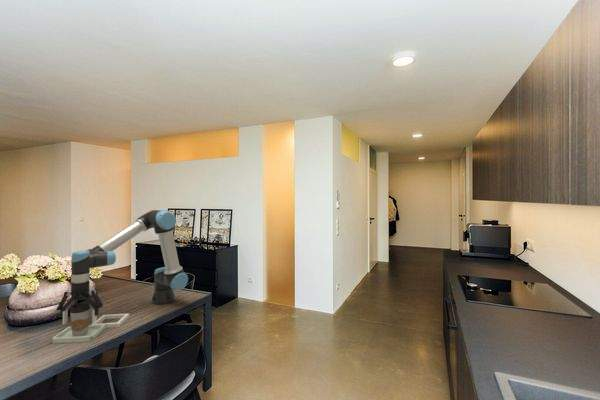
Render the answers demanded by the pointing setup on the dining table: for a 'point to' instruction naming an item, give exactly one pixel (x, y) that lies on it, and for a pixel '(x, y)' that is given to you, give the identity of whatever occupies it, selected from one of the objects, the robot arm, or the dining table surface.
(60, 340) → the tray
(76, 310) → the coffee cup
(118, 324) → the frame
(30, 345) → the dining table surface
